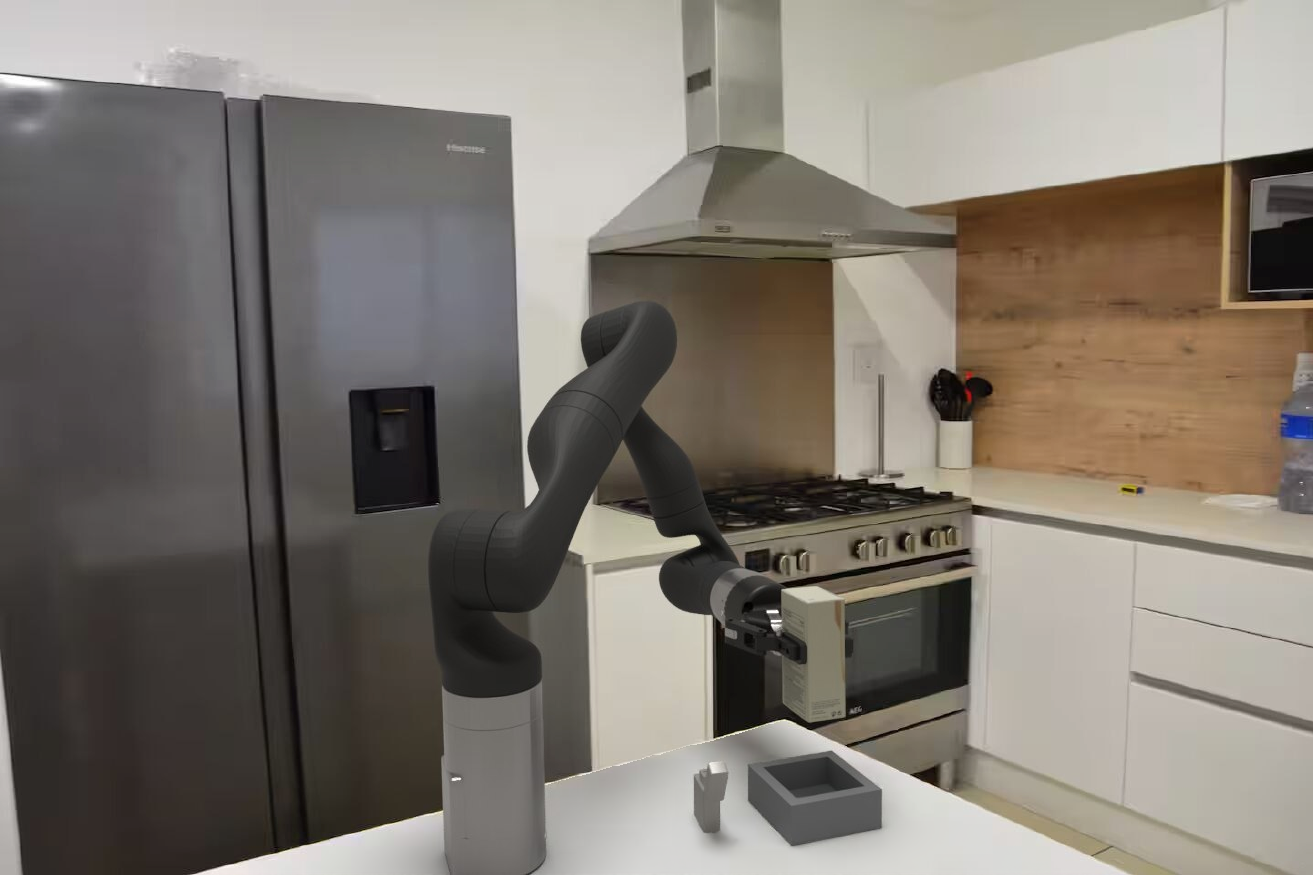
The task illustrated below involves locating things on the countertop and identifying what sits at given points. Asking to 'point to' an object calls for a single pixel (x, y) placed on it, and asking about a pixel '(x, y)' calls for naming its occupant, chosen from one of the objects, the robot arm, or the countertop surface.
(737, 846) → the countertop surface
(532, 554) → the robot arm
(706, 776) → the lighter
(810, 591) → the skincare box
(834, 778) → the holder
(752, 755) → the countertop surface
